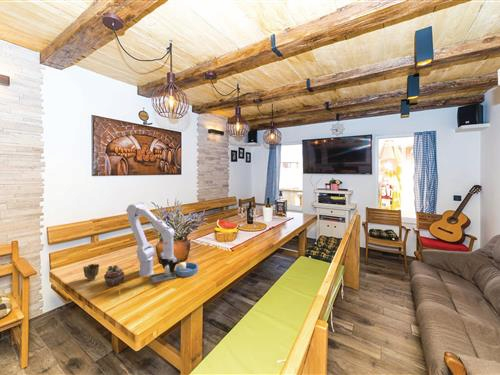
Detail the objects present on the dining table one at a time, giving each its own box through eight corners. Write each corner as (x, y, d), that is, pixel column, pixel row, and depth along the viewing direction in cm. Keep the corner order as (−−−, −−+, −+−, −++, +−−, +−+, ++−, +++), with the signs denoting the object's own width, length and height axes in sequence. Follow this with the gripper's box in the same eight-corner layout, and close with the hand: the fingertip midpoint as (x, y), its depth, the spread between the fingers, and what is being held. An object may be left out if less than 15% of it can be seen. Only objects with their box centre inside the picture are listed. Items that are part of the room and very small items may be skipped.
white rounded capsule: (177, 272, 137) (177, 264, 137) (182, 269, 141) (182, 261, 141) (182, 274, 135) (182, 265, 135) (187, 271, 139) (187, 263, 139)
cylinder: (163, 274, 135) (163, 265, 134) (171, 272, 137) (171, 264, 137) (165, 277, 131) (165, 268, 131) (172, 275, 134) (173, 267, 133)
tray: (149, 277, 132) (149, 275, 132) (172, 272, 139) (172, 270, 139) (152, 284, 123) (152, 282, 123) (176, 279, 131) (176, 277, 130)
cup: (94, 275, 132) (94, 262, 132) (102, 278, 129) (101, 265, 128) (80, 280, 126) (80, 267, 125) (88, 284, 122) (87, 270, 122)
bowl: (173, 270, 142) (173, 265, 142) (193, 265, 149) (193, 260, 149) (178, 279, 131) (179, 273, 130) (200, 274, 138) (201, 268, 138)
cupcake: (126, 283, 124) (126, 266, 123) (106, 289, 117) (105, 271, 117) (121, 277, 131) (121, 261, 130) (102, 282, 124) (102, 265, 124)
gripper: (156, 247, 135) (156, 268, 136) (168, 253, 125) (168, 276, 126) (166, 244, 140) (166, 265, 141) (179, 250, 131) (179, 272, 132)
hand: (168, 270), depth 134 cm, fingers open, 7 cm apart
